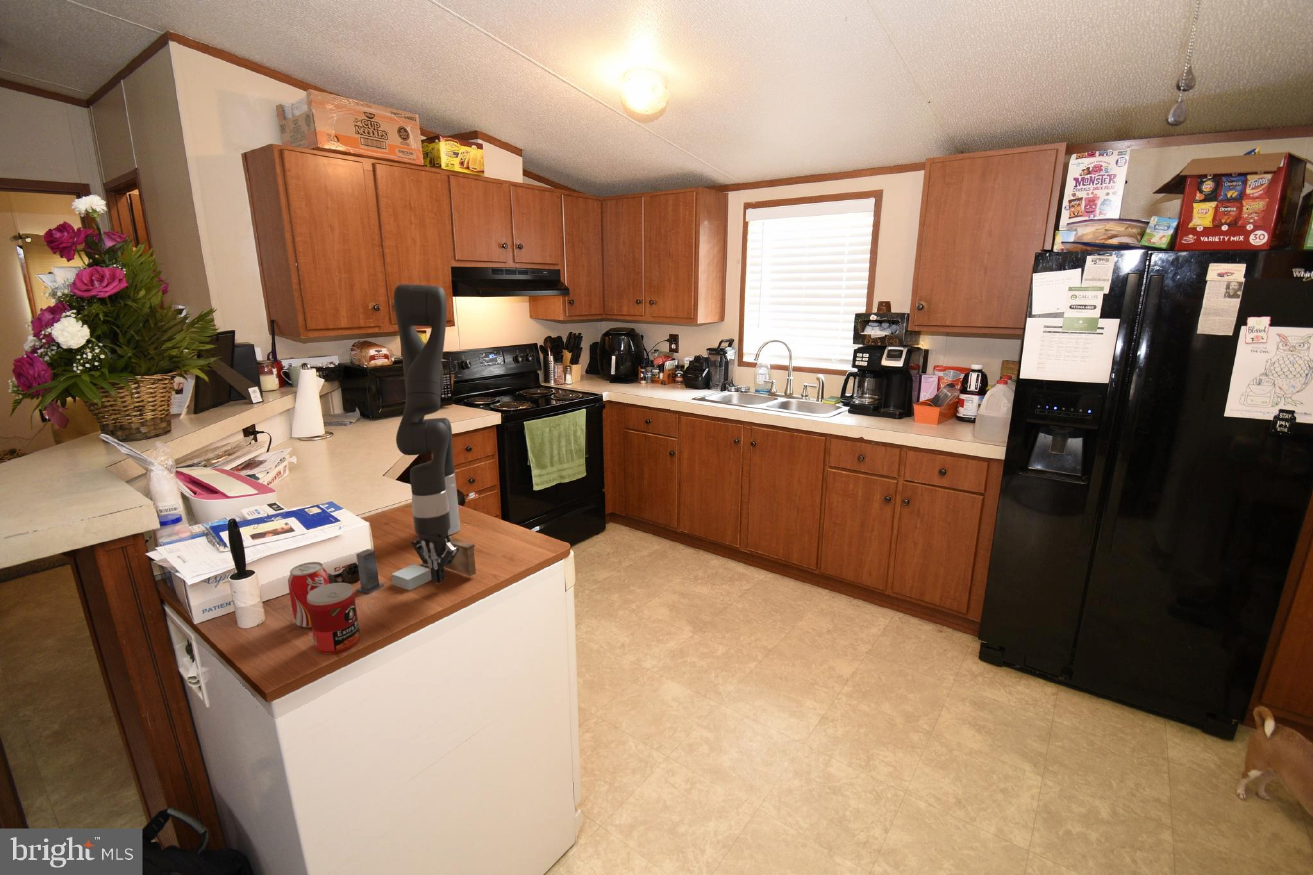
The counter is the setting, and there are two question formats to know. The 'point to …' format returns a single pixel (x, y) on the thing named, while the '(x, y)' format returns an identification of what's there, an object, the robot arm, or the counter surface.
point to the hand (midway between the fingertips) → (438, 581)
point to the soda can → (305, 588)
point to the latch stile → (368, 572)
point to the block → (411, 577)
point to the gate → (463, 558)
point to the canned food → (333, 617)
